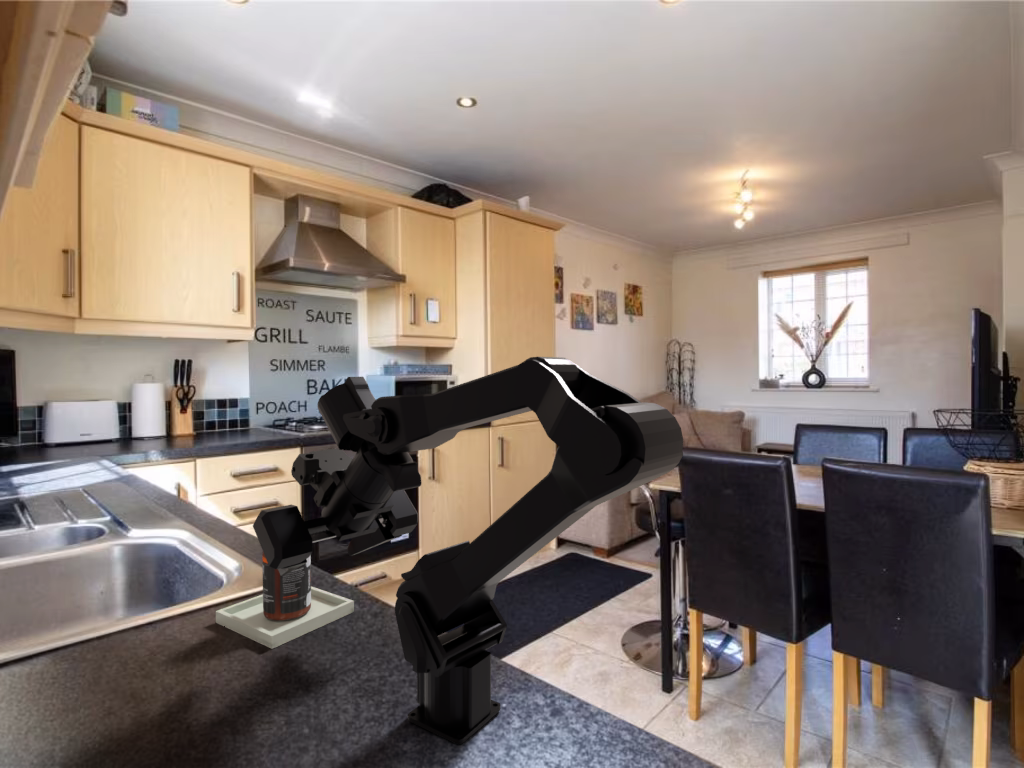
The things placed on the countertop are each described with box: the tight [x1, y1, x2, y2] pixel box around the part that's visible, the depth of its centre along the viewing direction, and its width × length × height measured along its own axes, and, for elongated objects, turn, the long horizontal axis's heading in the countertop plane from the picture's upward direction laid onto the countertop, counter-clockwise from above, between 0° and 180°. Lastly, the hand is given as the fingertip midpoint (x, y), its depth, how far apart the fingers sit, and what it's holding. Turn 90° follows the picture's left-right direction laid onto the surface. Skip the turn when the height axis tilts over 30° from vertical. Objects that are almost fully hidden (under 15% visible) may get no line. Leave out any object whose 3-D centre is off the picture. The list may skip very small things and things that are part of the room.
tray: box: [215, 585, 355, 650], centre depth 74 cm, size 12×12×2 cm
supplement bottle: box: [261, 551, 312, 621], centre depth 74 cm, size 6×6×11 cm
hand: (316, 561), depth 69 cm, fingers open, 9 cm apart
